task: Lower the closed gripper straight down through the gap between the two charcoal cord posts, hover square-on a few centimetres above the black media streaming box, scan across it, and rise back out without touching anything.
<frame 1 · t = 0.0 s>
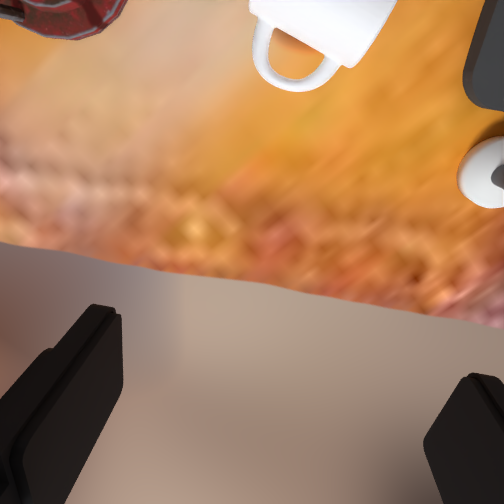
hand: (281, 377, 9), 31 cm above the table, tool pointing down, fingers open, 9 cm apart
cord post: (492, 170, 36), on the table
mug: (309, 22, 32), on the table
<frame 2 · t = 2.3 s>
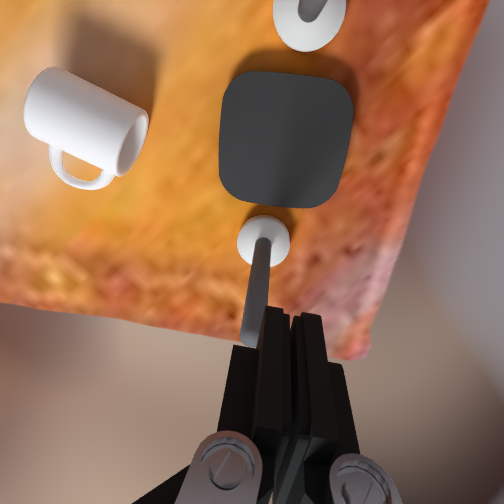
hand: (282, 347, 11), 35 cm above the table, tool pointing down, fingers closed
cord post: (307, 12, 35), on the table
media streaming box: (282, 141, 41), on the table
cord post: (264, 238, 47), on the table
mug: (104, 135, 43), on the table
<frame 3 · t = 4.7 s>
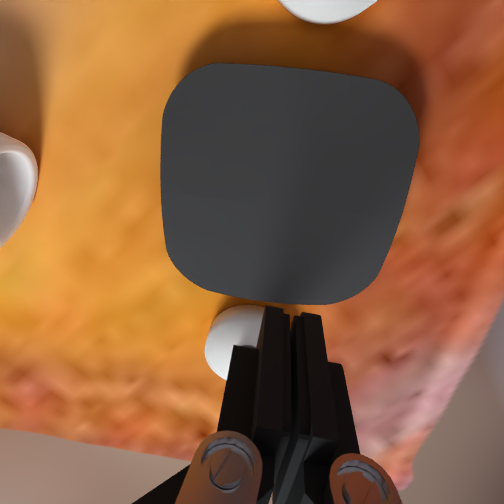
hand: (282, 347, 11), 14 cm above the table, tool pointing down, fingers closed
media streaming box: (279, 189, 23), on the table
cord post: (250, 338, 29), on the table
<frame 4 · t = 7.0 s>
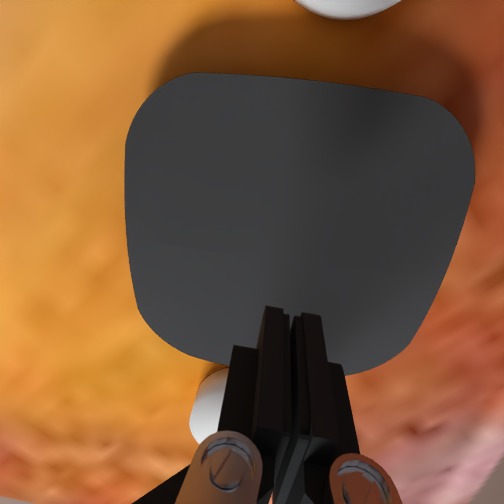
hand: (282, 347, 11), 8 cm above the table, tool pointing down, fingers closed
media streaming box: (283, 232, 18), on the table
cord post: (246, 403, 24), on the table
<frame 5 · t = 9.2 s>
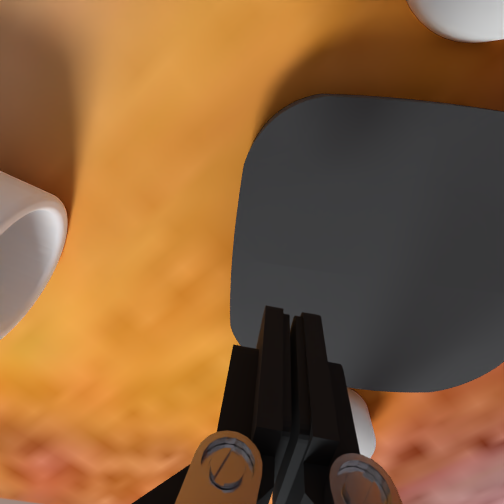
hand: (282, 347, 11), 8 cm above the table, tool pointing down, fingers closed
media streaming box: (375, 248, 18), on the table
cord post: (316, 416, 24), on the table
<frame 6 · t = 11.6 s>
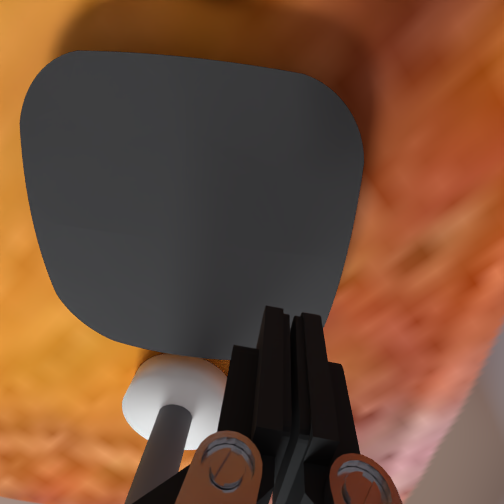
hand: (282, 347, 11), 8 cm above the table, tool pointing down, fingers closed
media streaming box: (200, 216, 18), on the table
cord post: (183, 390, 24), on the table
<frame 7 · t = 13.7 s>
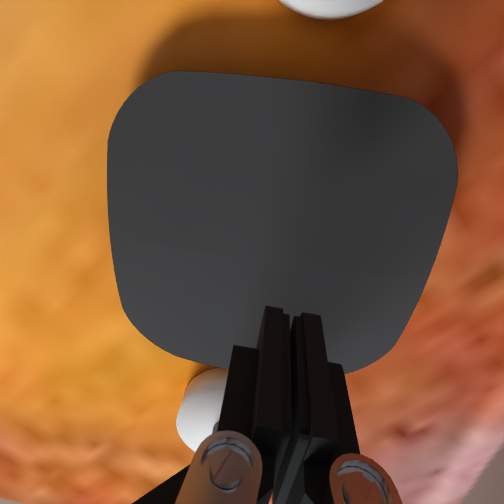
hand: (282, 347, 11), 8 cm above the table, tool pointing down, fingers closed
media streaming box: (269, 232, 18), on the table
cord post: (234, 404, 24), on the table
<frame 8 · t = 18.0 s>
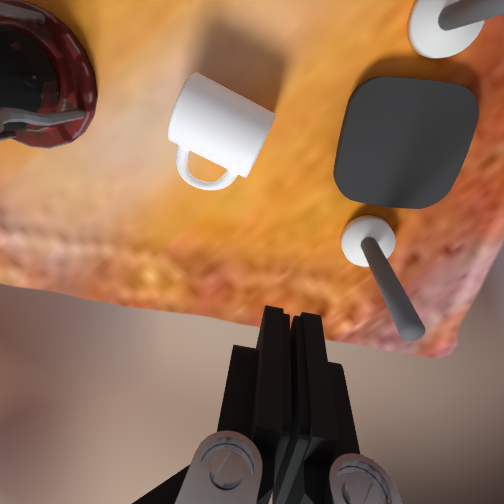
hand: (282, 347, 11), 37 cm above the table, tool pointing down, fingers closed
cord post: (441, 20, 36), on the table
media streaming box: (396, 144, 43), on the table
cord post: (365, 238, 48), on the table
hourglass: (35, 79, 43), on the table
mug: (221, 137, 44), on the table
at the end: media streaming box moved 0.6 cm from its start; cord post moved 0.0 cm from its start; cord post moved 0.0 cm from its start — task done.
